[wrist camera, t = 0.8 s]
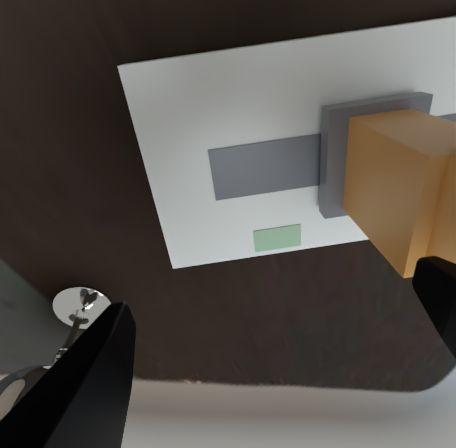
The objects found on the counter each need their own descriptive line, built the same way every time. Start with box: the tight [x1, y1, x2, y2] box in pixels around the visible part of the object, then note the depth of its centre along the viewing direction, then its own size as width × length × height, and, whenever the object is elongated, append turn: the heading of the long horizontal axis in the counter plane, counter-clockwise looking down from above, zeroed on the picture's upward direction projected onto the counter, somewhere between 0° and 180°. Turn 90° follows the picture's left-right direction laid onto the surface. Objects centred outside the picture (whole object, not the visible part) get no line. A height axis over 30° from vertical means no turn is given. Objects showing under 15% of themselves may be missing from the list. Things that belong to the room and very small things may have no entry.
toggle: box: [319, 92, 456, 278], centre depth 14 cm, size 5×6×8 cm
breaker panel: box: [117, 16, 456, 269], centre depth 18 cm, size 22×12×2 cm, turn 97°
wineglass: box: [0, 286, 112, 421], centre depth 19 cm, size 6×6×12 cm
